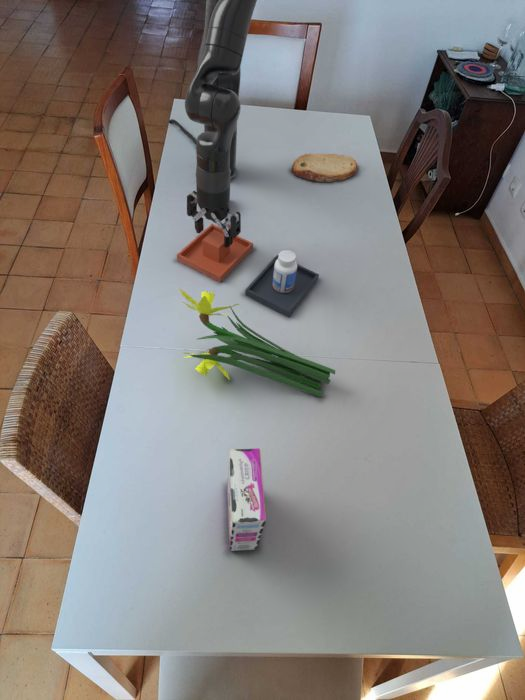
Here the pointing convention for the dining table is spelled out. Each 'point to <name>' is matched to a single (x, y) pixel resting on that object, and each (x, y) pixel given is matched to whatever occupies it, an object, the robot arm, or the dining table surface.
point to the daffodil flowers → (255, 353)
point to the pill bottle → (285, 272)
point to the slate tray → (276, 300)
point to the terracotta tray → (207, 266)
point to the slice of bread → (324, 167)
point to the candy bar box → (245, 499)
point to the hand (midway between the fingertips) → (213, 238)
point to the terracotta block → (215, 246)
